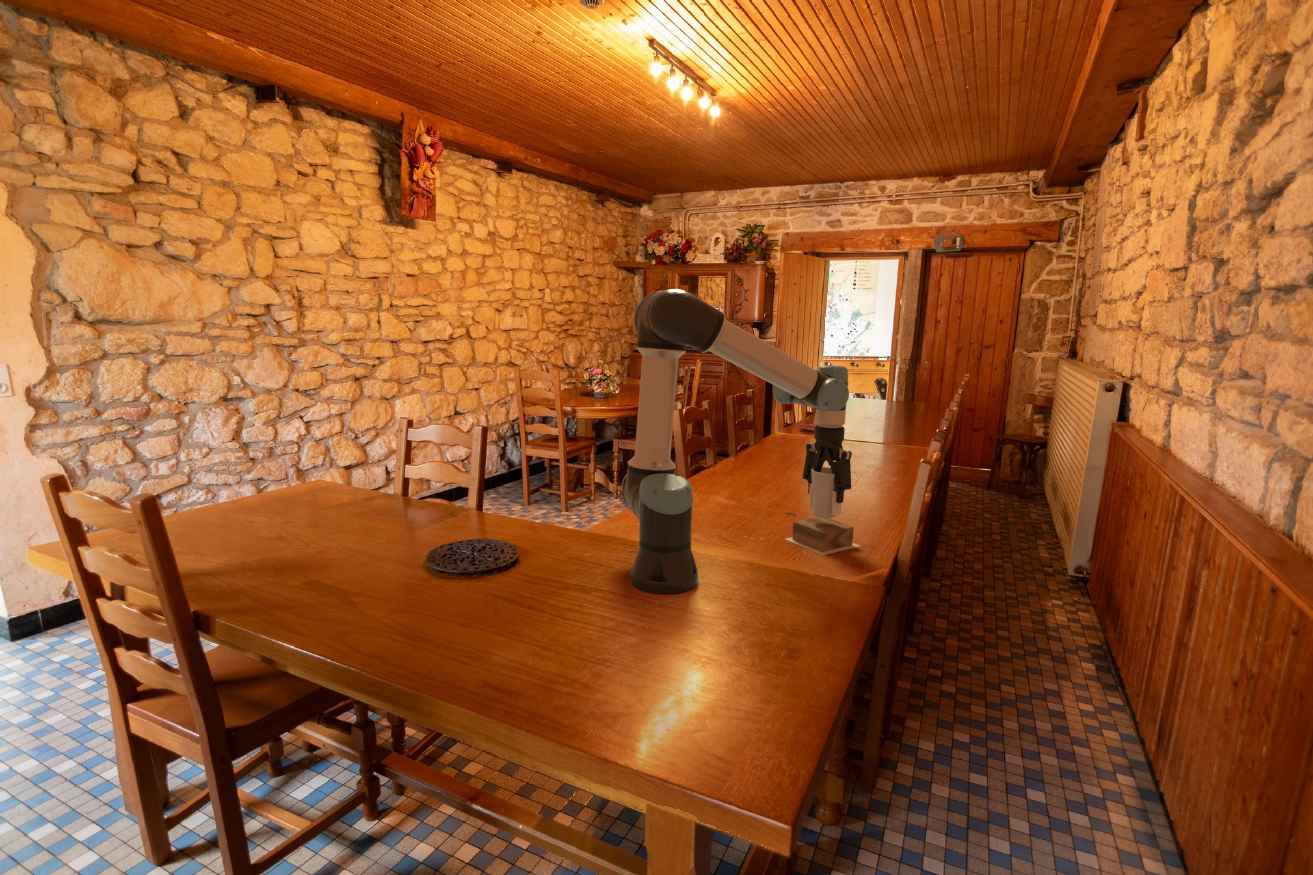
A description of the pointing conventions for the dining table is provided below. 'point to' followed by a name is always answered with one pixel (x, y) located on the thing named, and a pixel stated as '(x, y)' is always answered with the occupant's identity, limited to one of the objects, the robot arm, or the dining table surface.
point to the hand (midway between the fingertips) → (824, 510)
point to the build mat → (825, 551)
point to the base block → (822, 533)
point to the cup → (822, 492)
